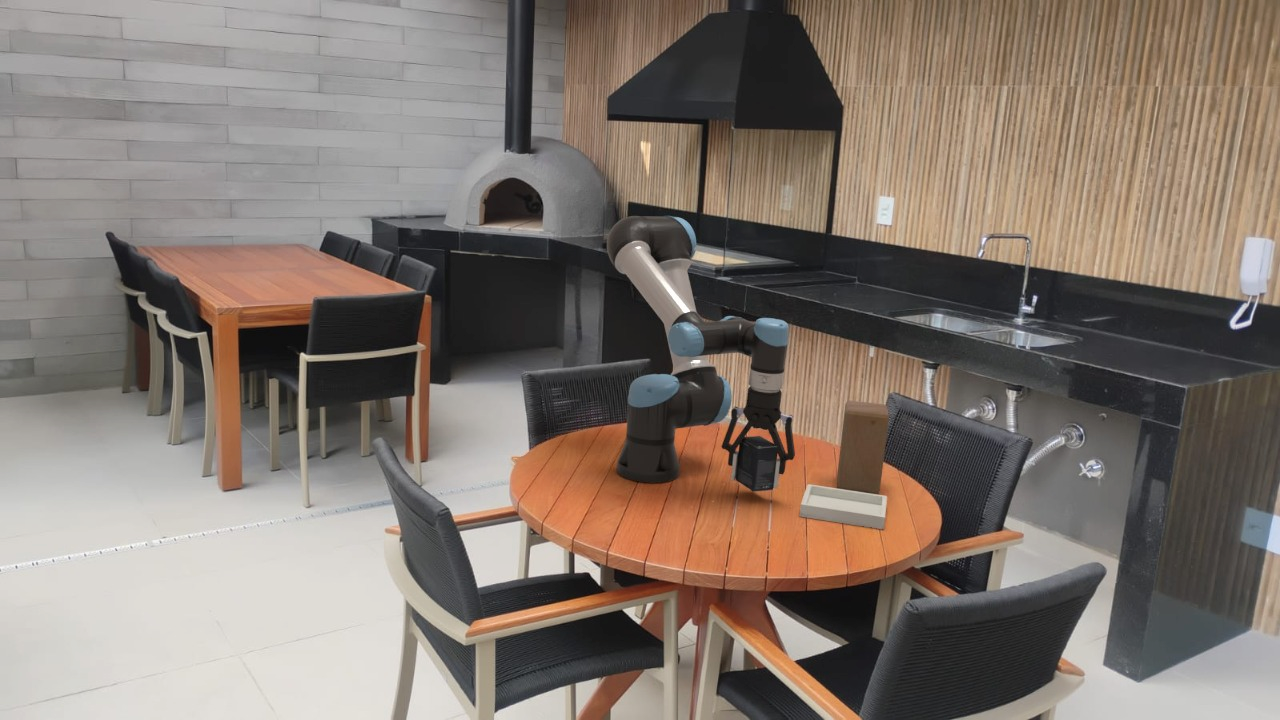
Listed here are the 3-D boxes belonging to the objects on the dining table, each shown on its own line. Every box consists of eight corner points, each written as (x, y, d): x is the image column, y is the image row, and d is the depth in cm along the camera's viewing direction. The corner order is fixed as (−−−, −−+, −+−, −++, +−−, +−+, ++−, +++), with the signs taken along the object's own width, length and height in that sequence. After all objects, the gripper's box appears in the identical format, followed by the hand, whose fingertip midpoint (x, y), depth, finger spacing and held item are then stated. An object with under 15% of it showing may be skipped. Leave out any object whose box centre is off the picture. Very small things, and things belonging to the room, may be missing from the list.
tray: (799, 516, 216) (800, 504, 215) (806, 495, 229) (807, 484, 228) (883, 529, 211) (885, 517, 211) (885, 507, 225) (887, 496, 224)
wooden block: (879, 496, 232) (889, 414, 228) (836, 490, 234) (845, 409, 229) (878, 482, 242) (888, 403, 237) (836, 477, 243) (845, 399, 239)
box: (773, 490, 223) (779, 446, 220) (752, 492, 220) (757, 447, 218) (755, 477, 230) (760, 434, 227) (734, 480, 227) (739, 436, 225)
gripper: (713, 385, 219) (704, 480, 224) (812, 399, 213) (800, 496, 219) (720, 377, 226) (711, 469, 231) (816, 391, 220) (804, 485, 226)
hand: (754, 482), depth 225 cm, fingers closed on box, 9 cm apart
